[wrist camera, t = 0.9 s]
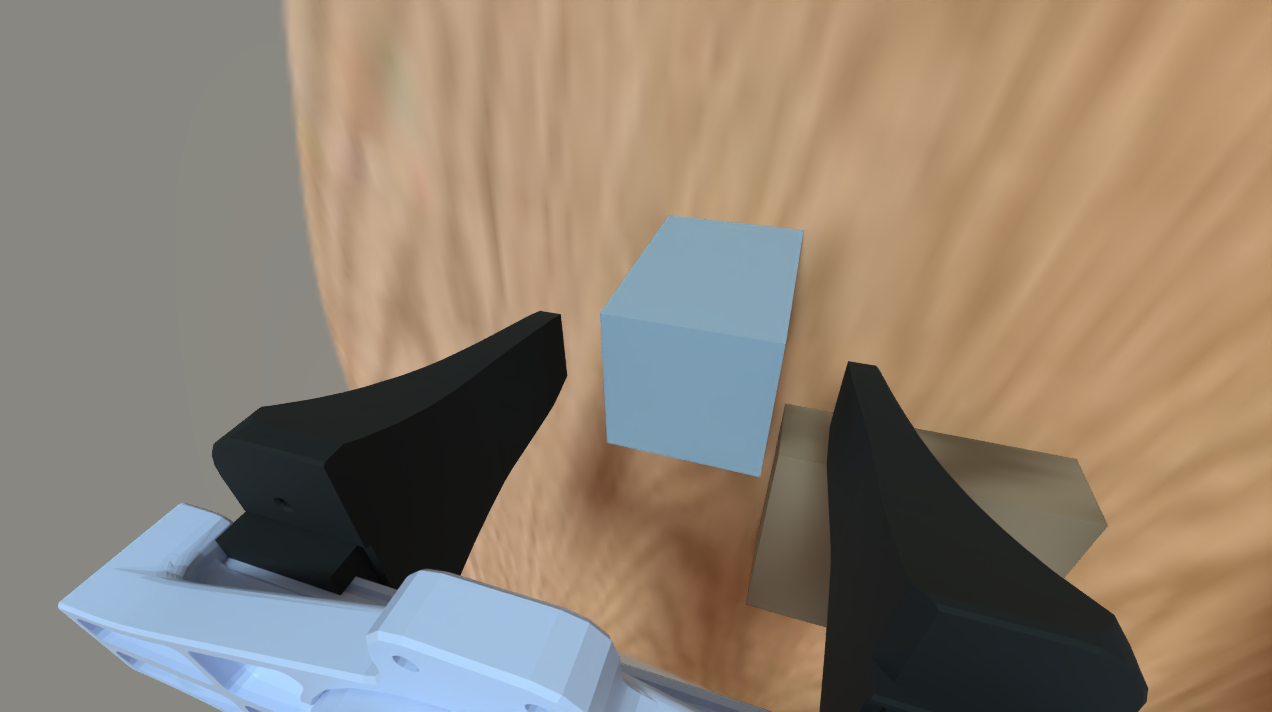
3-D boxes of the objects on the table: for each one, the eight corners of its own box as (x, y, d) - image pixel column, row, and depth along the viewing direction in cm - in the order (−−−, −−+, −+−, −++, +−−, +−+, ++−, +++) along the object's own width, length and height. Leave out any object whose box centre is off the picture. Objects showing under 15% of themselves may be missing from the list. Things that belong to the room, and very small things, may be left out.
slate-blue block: (803, 230, 15) (785, 343, 11) (782, 343, 18) (759, 477, 13) (669, 215, 16) (600, 313, 12) (665, 324, 19) (607, 442, 14)
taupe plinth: (1072, 450, 17) (1107, 525, 15) (970, 600, 22) (984, 672, 20) (786, 396, 19) (778, 454, 17) (755, 544, 25) (746, 604, 22)
